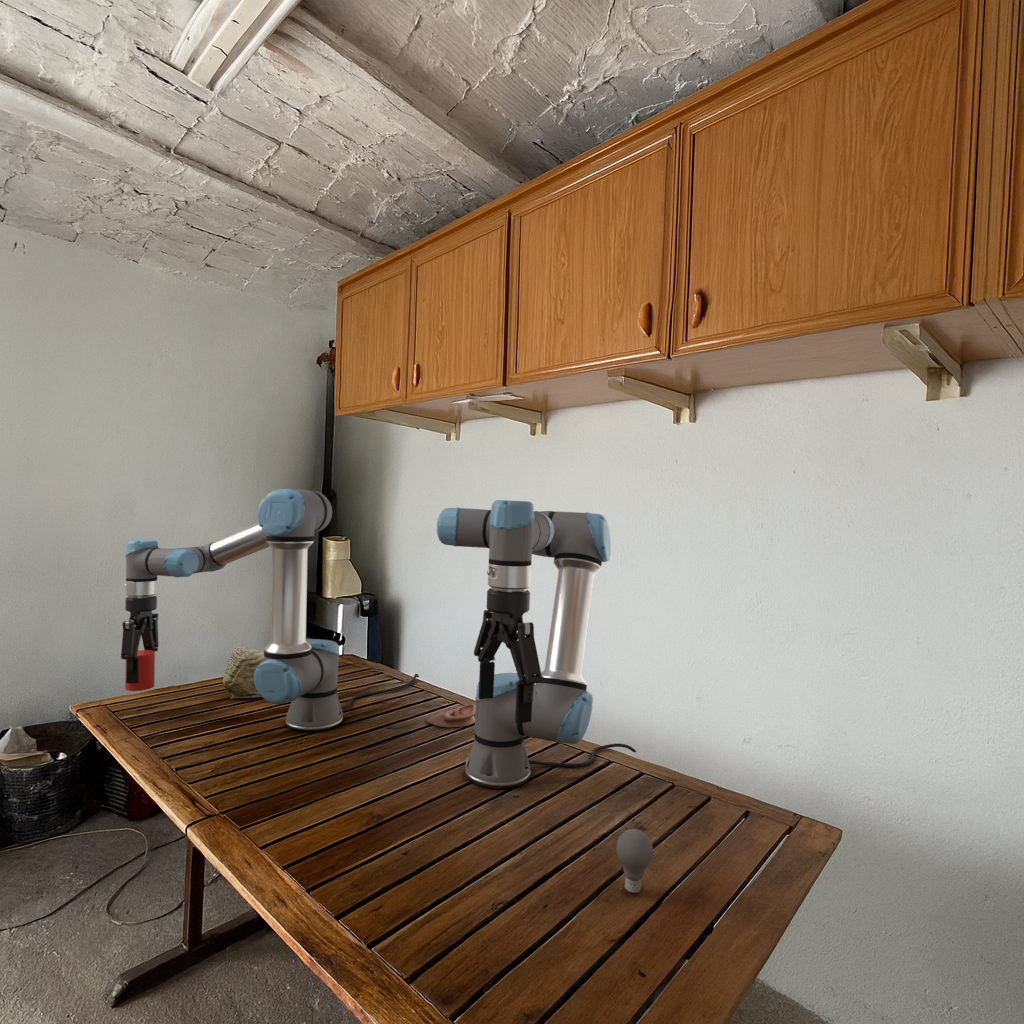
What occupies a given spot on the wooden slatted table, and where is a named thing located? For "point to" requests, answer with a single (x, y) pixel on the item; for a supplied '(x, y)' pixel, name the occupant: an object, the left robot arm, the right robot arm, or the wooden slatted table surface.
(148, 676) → the cylinder
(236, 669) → the fossil
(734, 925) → the wooden slatted table surface
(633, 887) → the light bulb
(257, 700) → the wooden slatted table surface
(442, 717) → the anatomical model
